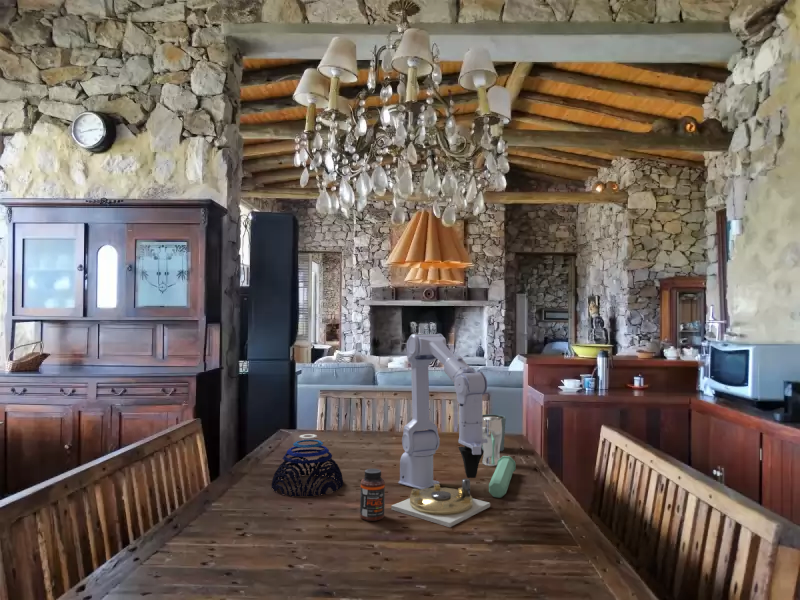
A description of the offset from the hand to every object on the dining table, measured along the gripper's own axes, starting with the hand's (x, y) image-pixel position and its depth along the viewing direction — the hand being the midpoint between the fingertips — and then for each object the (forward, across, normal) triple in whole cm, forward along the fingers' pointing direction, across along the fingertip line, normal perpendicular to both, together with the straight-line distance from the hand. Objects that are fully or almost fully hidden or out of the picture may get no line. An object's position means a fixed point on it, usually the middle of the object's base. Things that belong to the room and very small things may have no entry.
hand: (471, 477), depth 133 cm
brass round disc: (+8, +6, +7) cm, 12 cm away
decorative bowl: (+10, +27, +42) cm, 51 cm away
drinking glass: (+10, +66, -21) cm, 70 cm away
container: (+10, +24, -14) cm, 29 cm away
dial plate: (+9, +6, +7) cm, 13 cm away
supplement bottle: (+10, +1, +24) cm, 26 cm away
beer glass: (+10, +46, -16) cm, 50 cm away
